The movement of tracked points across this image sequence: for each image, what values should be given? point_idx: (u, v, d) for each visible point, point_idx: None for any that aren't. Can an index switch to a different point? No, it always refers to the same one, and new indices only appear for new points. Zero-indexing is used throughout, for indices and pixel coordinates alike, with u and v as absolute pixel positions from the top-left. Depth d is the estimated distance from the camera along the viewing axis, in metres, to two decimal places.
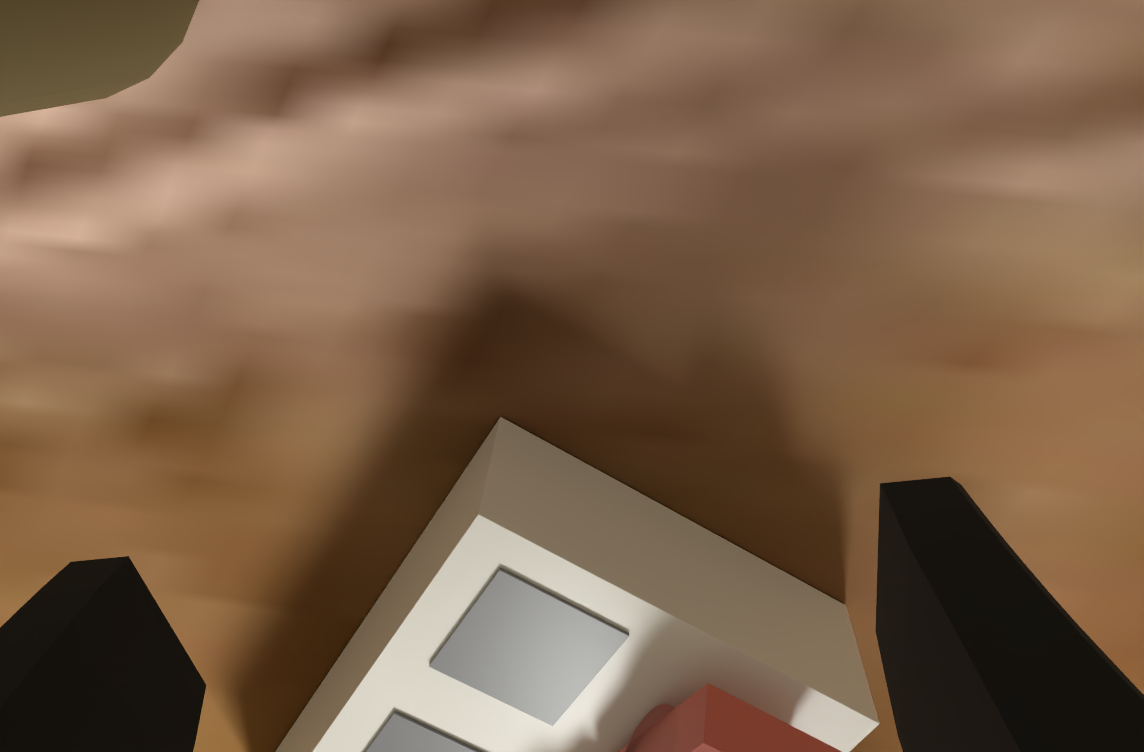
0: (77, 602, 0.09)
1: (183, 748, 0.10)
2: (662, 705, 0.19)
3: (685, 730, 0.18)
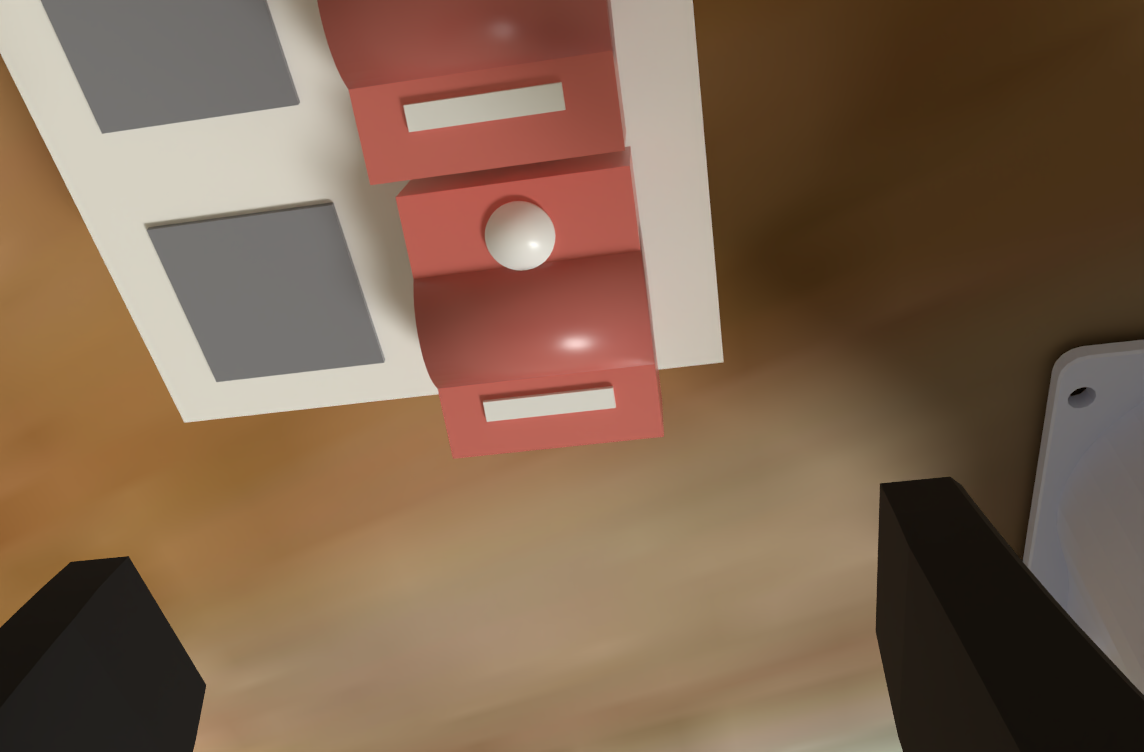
0: (77, 602, 0.09)
1: (183, 748, 0.10)
2: None
3: None
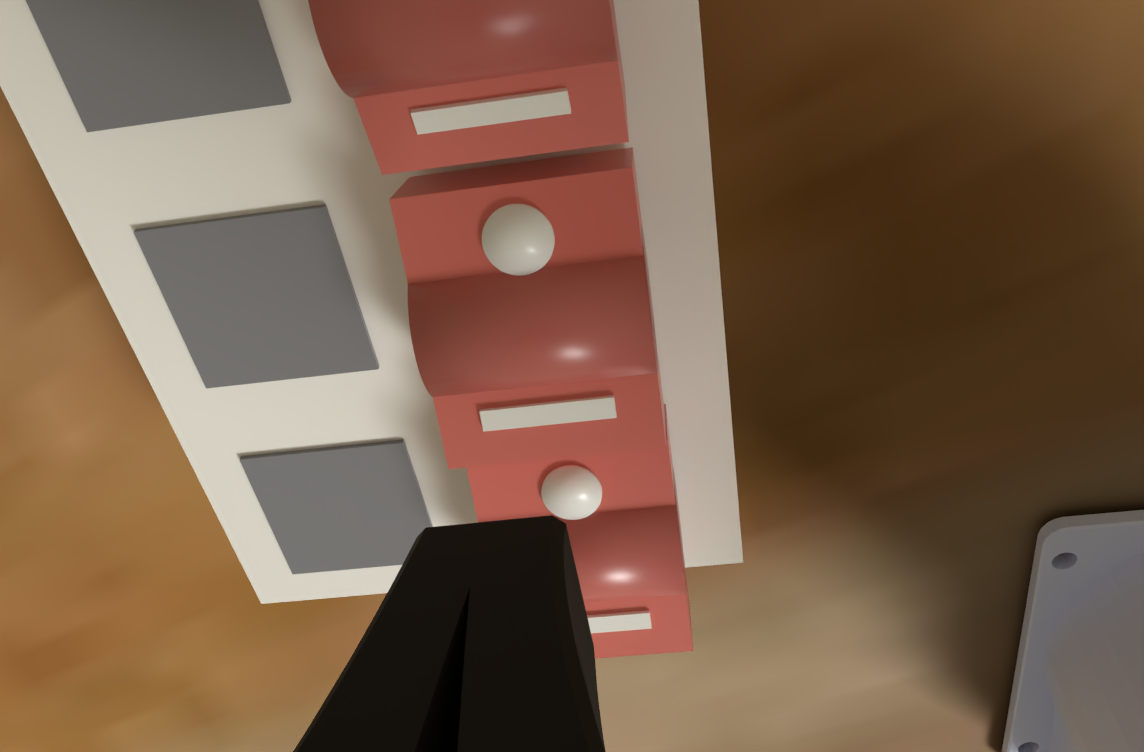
0: (462, 567, 0.09)
1: None
2: None
3: None
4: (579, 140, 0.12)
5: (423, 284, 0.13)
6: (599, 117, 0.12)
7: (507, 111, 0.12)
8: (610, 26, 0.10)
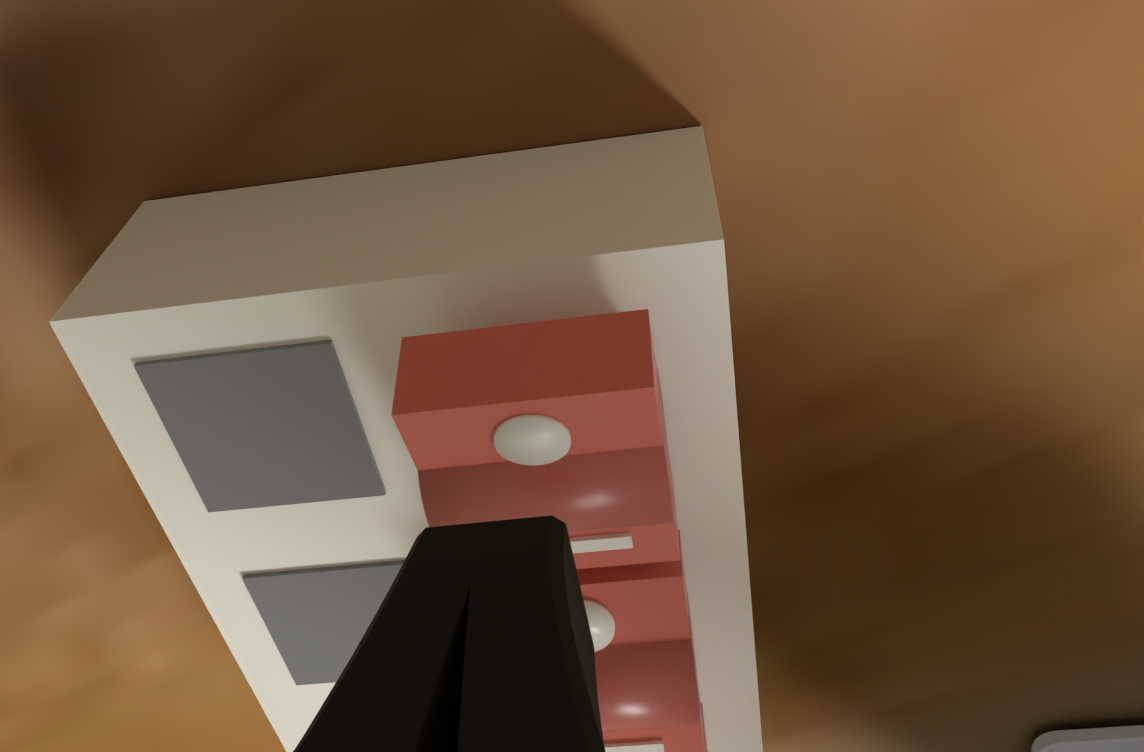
0: (463, 567, 0.09)
1: None
2: None
3: None
4: (638, 560, 0.14)
5: None
6: (656, 547, 0.14)
7: (580, 547, 0.14)
8: (671, 515, 0.13)
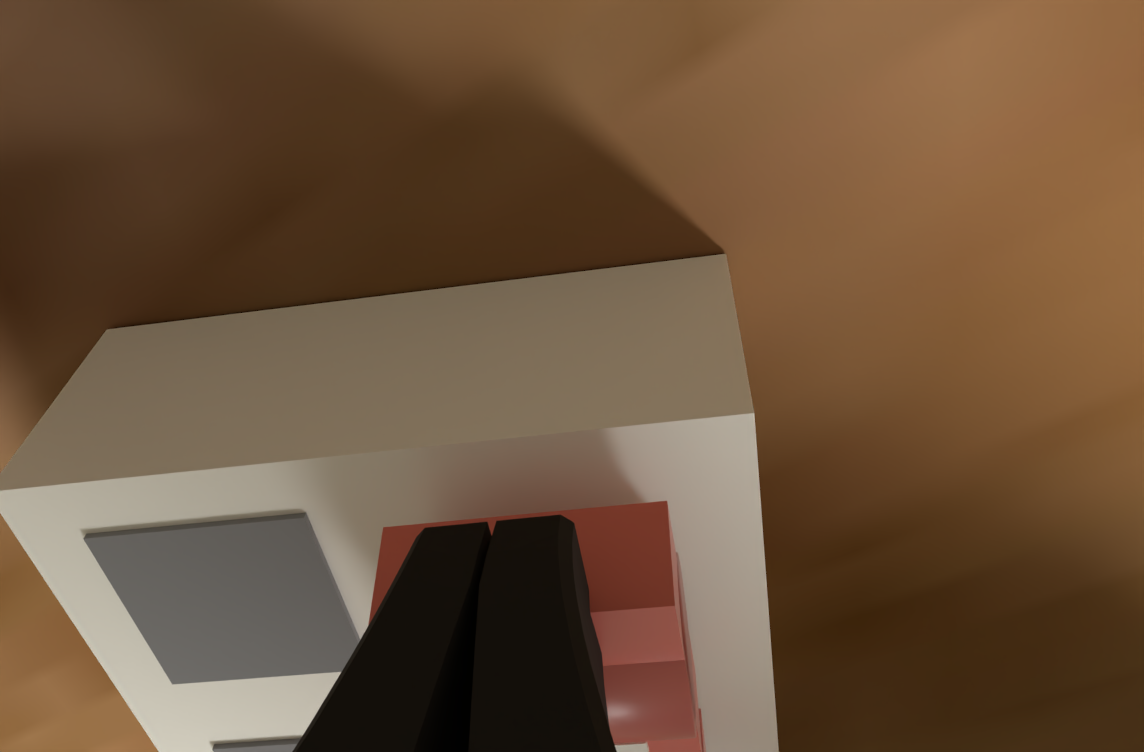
0: (461, 567, 0.09)
1: None
2: None
3: None
4: None
5: None
6: (676, 751, 0.12)
7: None
8: (693, 733, 0.11)
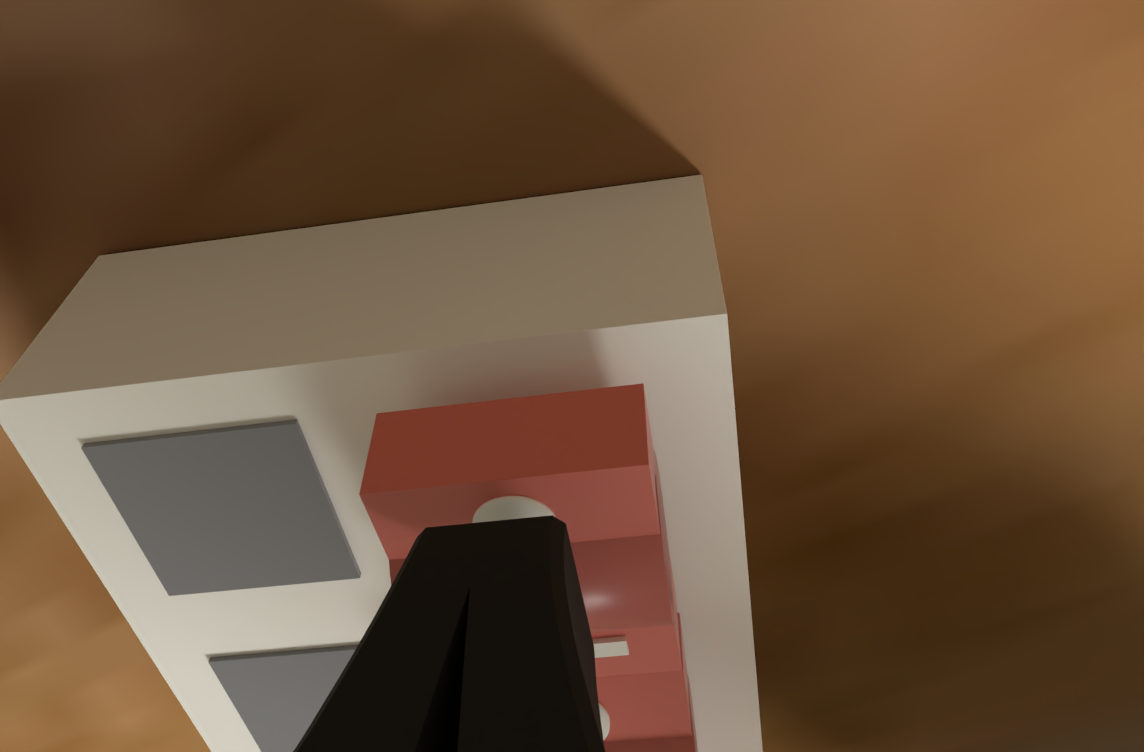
0: (463, 567, 0.09)
1: None
2: None
3: None
4: (635, 670, 0.13)
5: None
6: (655, 655, 0.12)
7: None
8: (669, 615, 0.11)
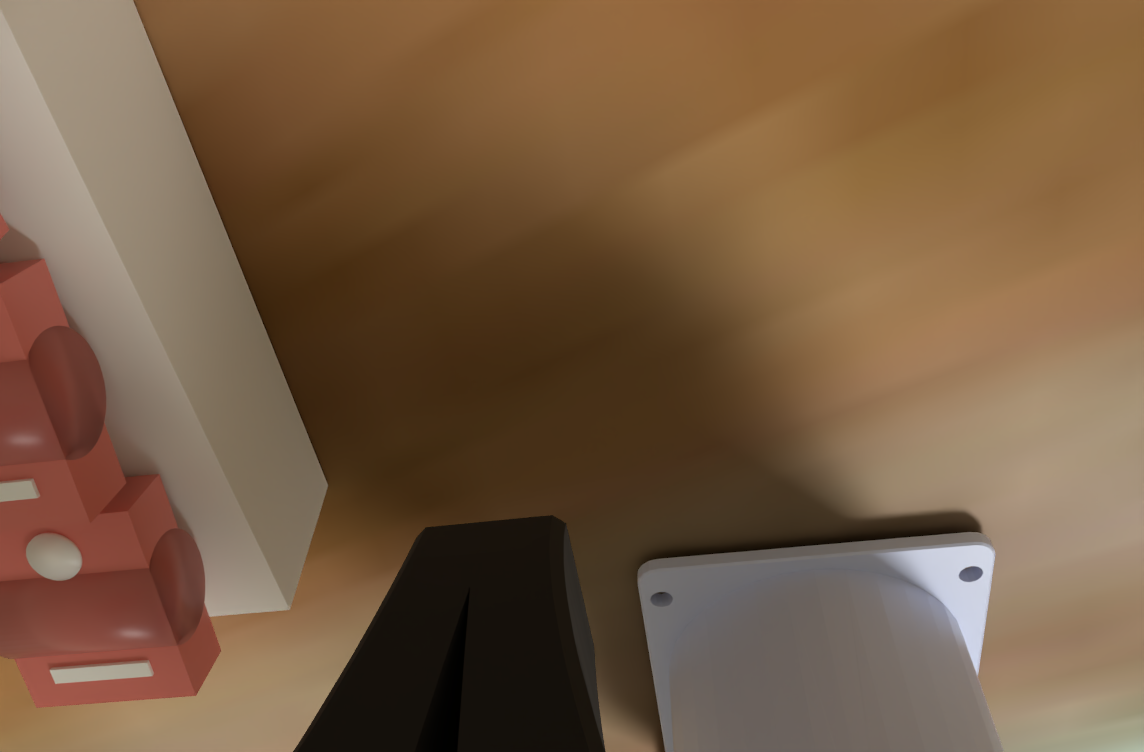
0: (463, 567, 0.09)
1: None
2: None
3: None
4: None
5: None
6: None
7: None
8: None
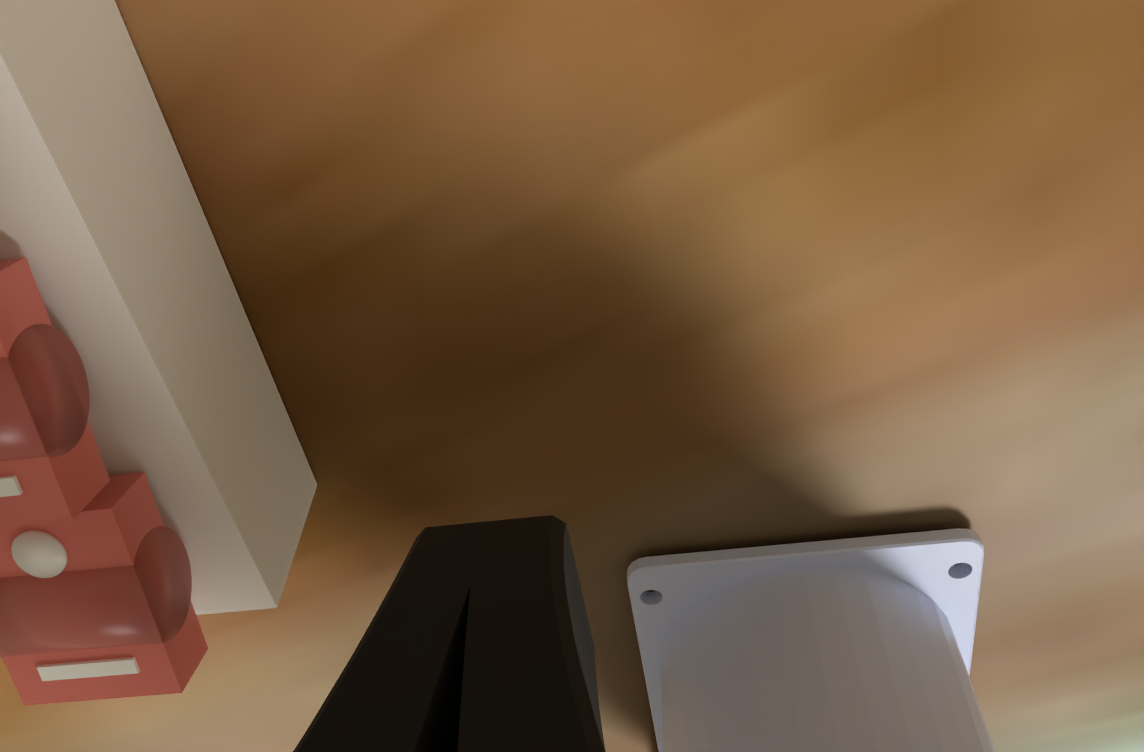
0: (462, 567, 0.09)
1: None
2: None
3: None
4: None
5: None
6: None
7: None
8: None
